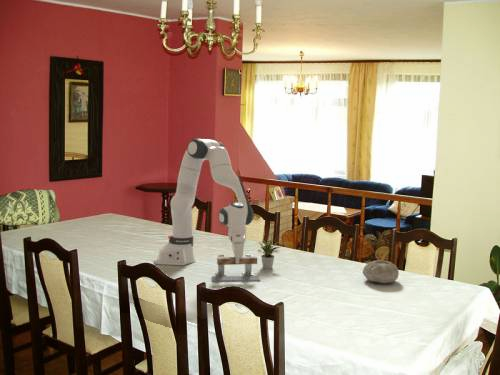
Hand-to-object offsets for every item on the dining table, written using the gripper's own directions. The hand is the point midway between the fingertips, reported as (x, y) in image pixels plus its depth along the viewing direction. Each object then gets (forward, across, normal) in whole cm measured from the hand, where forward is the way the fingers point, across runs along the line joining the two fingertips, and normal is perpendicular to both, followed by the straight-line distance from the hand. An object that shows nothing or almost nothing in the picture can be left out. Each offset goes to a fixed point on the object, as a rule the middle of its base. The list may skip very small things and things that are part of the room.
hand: (236, 262), depth 301 cm
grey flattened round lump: (+10, +7, +72) cm, 73 cm away
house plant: (+9, -20, +18) cm, 28 cm away
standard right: (+9, -8, +6) cm, 13 cm away
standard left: (+9, -8, -8) cm, 14 cm away
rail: (+1, 0, 0) cm, 1 cm away
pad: (+9, 0, -1) cm, 9 cm away
